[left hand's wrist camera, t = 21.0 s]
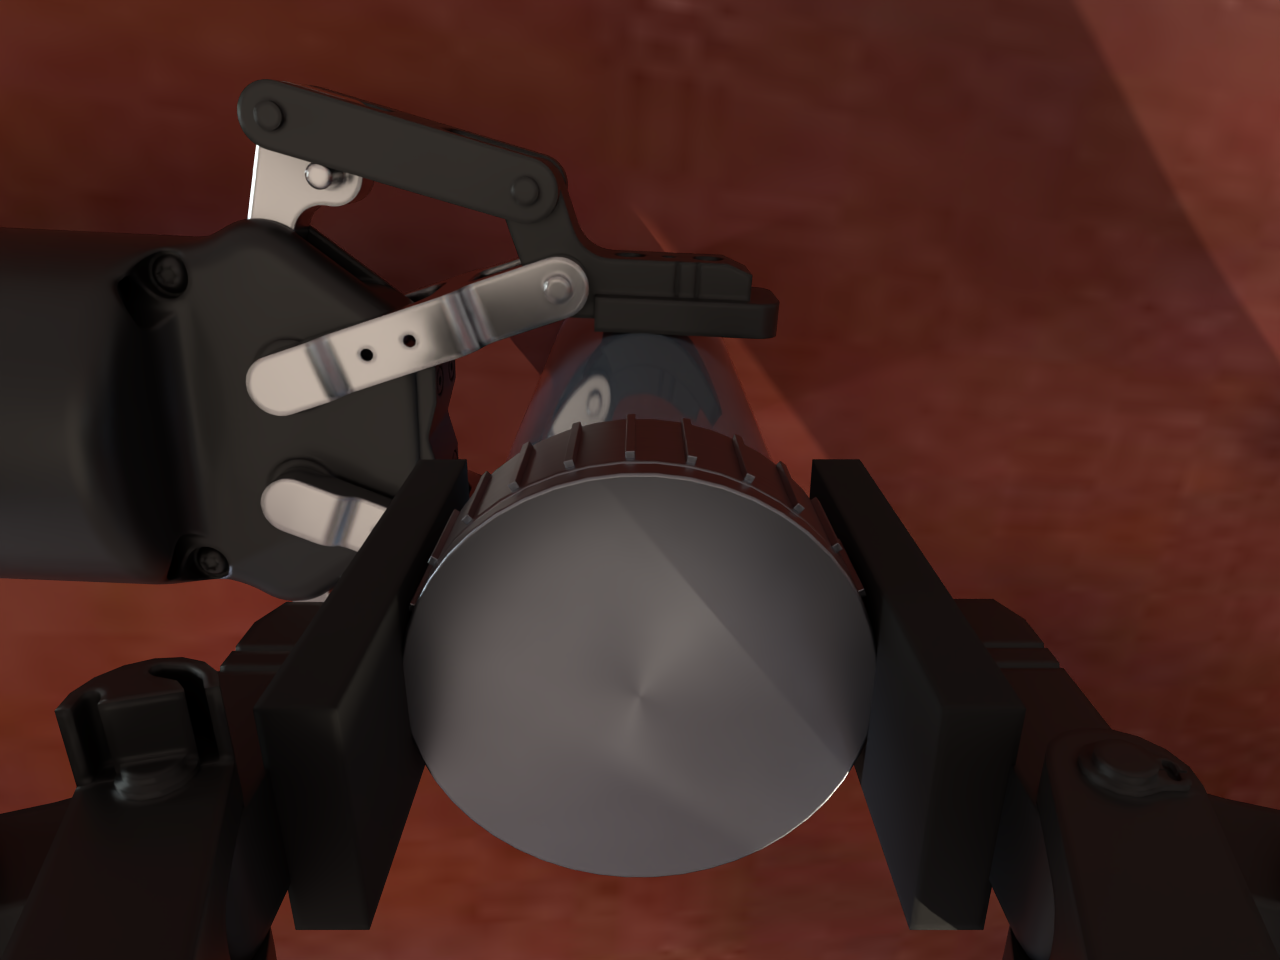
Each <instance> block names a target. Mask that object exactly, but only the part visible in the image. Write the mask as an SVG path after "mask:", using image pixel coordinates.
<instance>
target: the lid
mask: <svg viewBox="0 0 1280 960" xmlns="http://www.w3.org/2000/svg"><path fill="white" fill-rule="evenodd" d="M428 563H429V565H428V567H427V569H426V571H425V573H424V575H423V577H422V579H421V581H420V584H419V586H418V588H417V590H416V592H415V594H414V596H413V598H412V600H411V602H410V604H409V611H411V612H412V613H411V616H410V619H409V622H408V625H407V627H406V632H405V637H404V642H403V647H402V659H403V669H404V678H405V686H406V695H407V704H408V712H409V721H410V728H411V735H412V738H413V741H414V743H415V745H416V747H417V750H418V752H419V754H420V756H421V758H422V760H423V762H424V763H425V765H426V767H427V768H428V770H429V771H430V773H431V775H432V776H433V778H434V779H435V781H436V782H437V783H438V784H439V786H440V787H441V788H442V789H443V791H444V792H445V793H446V794H447V795H448V797H449V798H450V799H451V800H452V801H453V802H454V803H455V804H456V805H457V806H458V807H459V808H460V809H461V810H462V811H463V812H464V813H465V814H467V815H468V816H469V817H470V818H471V819H472V820H473V821H475V822H476V823H477V824H479V825H480V826H481V827H483V828H484V829H485V830H487V831H488V832H490V833H491V834H492V835H494V836H495V837H497V838H499V839H501V840H502V841H504V842H506V843H508V844H509V845H511V846H513V847H515V848H516V849H518V850H521V851H523V852H525V853H527V854H530V855H532V856H534V857H537V858H539V859H541V860H544V861H547V862H550V863H553V864H557V865H560V866H563V867H566V868H569V869H574V870H579V871H584V872H589V873H594V874H600V875H610V876H620V877H659V876H669V875H679V874H685V873H690V872H695V871H700V870H705V869H710V868H713V867H716V866H719V865H722V864H726V863H729V862H732V861H735V860H738V859H740V858H742V857H745V856H747V855H749V854H752V853H754V852H756V851H758V850H761V849H763V848H764V847H766V846H768V845H770V844H771V843H773V842H775V841H777V840H778V839H780V838H782V837H784V836H785V835H787V834H788V833H790V832H791V831H792V830H794V829H795V828H796V827H798V826H799V825H800V824H802V823H803V822H804V821H806V820H807V819H808V818H809V817H810V816H811V815H813V814H814V813H815V812H816V811H817V810H818V809H819V808H820V807H821V806H822V805H823V804H824V803H825V802H826V801H827V800H828V799H829V798H830V797H831V795H832V794H833V793H834V792H835V791H836V789H837V788H838V787H839V786H840V785H841V783H842V782H843V781H844V779H845V778H846V776H847V775H848V773H849V771H850V770H851V768H852V767H853V765H854V763H855V762H856V760H857V759H858V757H859V754H860V752H861V750H862V747H863V745H864V743H865V741H866V738H867V736H868V729H869V721H870V712H871V704H872V695H873V687H874V678H875V669H876V659H877V647H876V642H875V636H874V631H873V627H872V624H871V621H870V619H869V616H868V613H867V610H866V608H865V605H864V602H863V600H862V597H865V596H867V595H866V592H865V589H864V587H863V585H862V583H861V581H860V579H859V577H858V575H857V573H856V571H855V569H854V567H853V565H852V563H851V561H850V559H849V557H848V555H847V553H846V551H845V549H844V547H843V545H842V543H841V541H840V539H838V538H837V536H836V534H835V532H834V530H833V528H832V526H831V524H830V522H829V520H828V518H827V516H826V514H825V512H824V510H823V508H822V506H821V503H820V502H819V500H818V499H817V498H816V497H815V498H813V499H812V500H810V499H809V497H808V496H807V495H806V493H805V492H804V491H803V489H802V488H801V487H800V486H799V485H798V484H797V483H796V482H795V481H794V480H793V479H792V478H791V476H790V474H789V471H788V469H787V467H786V465H785V464H784V463H782V462H781V461H780V462H779V463H778V464H777V465H776V464H774V463H773V462H772V461H770V460H769V459H768V458H766V457H765V456H764V455H762V454H761V453H759V452H757V451H755V450H754V449H752V448H750V447H748V446H746V445H745V444H744V442H743V439H742V437H741V436H739V435H736V434H734V436H733V438H730V437H728V436H725V435H723V434H720V433H717V432H715V431H712V430H710V429H706V428H702V427H698V426H694V425H691V420H690V419H686V418H682V422H673V421H665V420H657V419H636V416H635V414H627V419H622V420H614V421H606V422H598V423H593V424H589V425H585V426H582V425H581V422H576V423H573V424H572V428H571V429H570V430H567V431H564V432H562V433H559V434H557V435H554V436H552V437H549V438H547V439H544V440H542V441H540V442H538V443H536V444H534V445H532V444H531V442H530V441H529V442H527V443H525V444H523V446H522V448H521V451H520V453H518V454H517V455H515V456H514V457H513V458H511V459H510V460H509V461H507V462H506V463H505V464H503V465H502V466H501V467H500V468H498V469H497V470H496V471H494V472H493V473H492V474H490V473H489V472H487V471H486V472H485V473H484V474H483V475H482V476H481V478H480V481H479V483H478V485H477V487H476V489H475V492H474V493H473V495H472V496H471V497H470V499H469V500H468V501H467V503H466V504H465V505H464V507H463V508H462V509H461V511H458V510H456V509H454V511H453V512H452V514H451V516H450V518H449V520H448V522H447V524H446V526H445V528H444V530H443V532H442V534H441V536H440V538H439V540H438V542H437V544H436V546H435V548H434V550H433V552H432V555H431V557H430V559H429V561H428Z"/></svg>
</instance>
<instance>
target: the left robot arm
mask: <svg viewBox="0 0 1280 960" xmlns="http://www.w3.org/2000/svg"><path fill="white" fill-rule="evenodd" d="M815 497H816V498H817V499H818V500H819V502H820V503H821V506H822V508H823V510H824V512H825V514H826V516H827V518H828V520H829V522H830V524H831V526H832V528H833V530H834V532H835V534H836V536H837V538H838V539H840V541H841V543H842V545H843V547H844V549H845V551H846V553H847V555H848V557H849V559H850V561H851V563H852V565H853V567H854V569H855V571H856V573H857V575H858V577H859V579H860V581H861V583H862V585H863V587H864V589H865V592H866V595H867V596H865V597H862V600H863V602H864V605H865V608H866V610H867V613H868V616H869V619H870V621H871V624H872V627H873V631H874V636H875V642H876V647H877V659H876V669H875V678H874V687H873V695H872V704H871V712H870V721H869V729H868V736H867V738H866V741H865V743H864V745H863V747H862V750H861V752H860V754H859V757H858V759H857V760H856V762H855V763H854V766H855V769H856V772H857V775H858V778H859V781H860V784H861V787H862V790H863V793H864V796H865V799H866V802H867V805H868V808H869V811H870V814H871V817H872V820H873V823H874V825H875V828H876V831H877V834H878V837H879V840H880V843H881V846H882V849H883V852H884V855H885V858H886V861H887V864H888V867H889V870H890V873H891V876H892V879H893V882H894V885H895V888H896V891H897V894H898V897H899V900H900V902H901V905H902V908H903V911H904V914H905V917H906V920H907V923H908V926H909V929H910V930H983V929H984V924H985V919H986V914H987V909H988V903H989V898H990V893H991V888H993V890H994V892H995V894H996V896H997V898H998V900H999V903H1000V905H1001V907H1002V909H1003V911H1004V913H1005V915H1006V918H1007V920H1008V922H1009V924H1010V926H1009V931H1008V936H1007V940H1006V945H1005V950H1004V955H1003V960H1280V810H1277V809H1272V808H1267V807H1262V806H1257V805H1253V804H1248V803H1243V802H1238V801H1234V800H1229V799H1225V798H1221V797H1217V796H1214V795H1210V794H1207V793H1206V791H1205V789H1204V786H1203V785H1202V783H1201V782H1200V781H1199V779H1198V778H1197V777H1196V775H1195V774H1194V773H1193V771H1192V770H1191V769H1190V767H1189V766H1187V765H1186V764H1185V763H1183V762H1182V761H1181V760H1179V759H1178V758H1177V757H1175V756H1174V755H1173V754H1171V753H1170V752H1169V751H1167V750H1166V749H1164V748H1162V747H1160V746H1157V745H1155V744H1153V743H1151V742H1149V741H1147V740H1145V739H1142V738H1140V737H1138V736H1134V735H1131V734H1127V733H1123V732H1119V731H1115V730H1112V729H1111V728H1110V727H1109V725H1108V724H1107V723H1106V722H1105V720H1104V719H1103V718H1102V717H1101V715H1100V714H1099V713H1098V712H1097V710H1096V709H1095V708H1094V706H1093V705H1092V704H1091V703H1090V701H1089V700H1088V699H1087V698H1086V696H1085V695H1084V694H1083V693H1082V691H1081V690H1080V689H1079V687H1078V686H1077V685H1076V684H1075V682H1074V681H1073V680H1072V679H1071V677H1070V676H1069V675H1068V674H1067V672H1066V671H1065V670H1064V668H1060V667H1059V662H1058V661H1057V660H1056V658H1055V657H1054V656H1053V654H1052V653H1051V652H1050V651H1049V649H1048V648H1044V643H1043V642H1042V641H1041V639H1040V638H1039V637H1038V635H1037V634H1036V633H1035V632H1034V630H1033V629H1032V628H1031V627H1030V625H1029V624H1028V623H1027V622H1026V620H1025V619H1023V618H1022V617H1020V616H1019V615H1017V614H1016V613H1014V612H1012V611H1011V610H1009V609H1008V608H1006V607H1005V606H1003V605H1001V604H1000V603H998V602H997V601H995V600H994V599H953V598H952V597H951V595H950V594H949V592H948V591H947V589H946V588H945V586H944V585H943V583H942V582H941V580H940V579H939V577H938V576H937V574H936V573H935V571H934V570H933V568H932V567H931V565H930V564H929V562H928V561H927V559H926V558H925V556H924V555H923V553H922V552H921V550H920V549H919V547H918V546H917V544H916V543H915V541H914V540H913V538H912V537H911V535H910V534H909V532H908V531H907V529H906V528H905V527H904V525H903V524H902V522H901V521H900V519H899V518H898V516H897V515H896V513H895V512H894V510H893V509H892V507H891V506H890V504H889V503H888V501H887V500H886V498H885V497H884V495H883V494H882V492H881V491H880V489H879V488H878V486H877V485H876V483H875V482H874V480H873V479H872V477H871V476H870V474H869V473H868V471H867V470H866V468H865V467H864V465H863V464H862V462H861V461H860V459H813V460H812V473H811V486H810V500H812V499H813V498H815ZM469 499H470V497H469V484H468V471H467V459H419V461H418V462H417V464H416V465H415V467H414V468H413V470H412V471H411V473H410V474H409V476H408V477H407V479H406V480H405V482H404V483H403V485H402V486H401V488H400V489H399V491H398V492H397V494H396V495H395V497H394V498H393V500H392V501H391V503H390V504H389V506H388V507H387V509H386V510H385V512H384V513H383V515H382V516H381V518H380V519H379V521H378V522H377V524H376V525H375V527H374V528H373V530H372V531H371V533H370V534H369V536H368V537H367V539H366V540H365V542H364V543H363V545H362V546H361V548H360V549H359V551H358V552H357V553H356V555H355V556H354V558H353V559H352V561H351V562H350V564H349V565H348V567H347V568H346V570H345V571H344V573H343V574H342V576H341V577H340V579H339V580H338V582H337V583H336V585H335V586H334V588H333V589H332V591H331V592H330V594H329V595H328V597H327V598H326V600H325V601H324V602H286V603H284V604H282V605H281V606H279V607H278V608H276V609H275V610H273V611H272V612H270V613H269V614H267V615H265V616H264V617H262V618H261V619H259V620H258V621H256V622H255V623H254V624H253V625H252V626H251V628H250V629H249V630H248V632H247V633H246V634H245V635H244V637H243V638H242V639H241V641H240V642H239V643H238V644H237V646H236V651H232V652H231V653H230V655H229V656H228V657H227V658H226V660H225V661H224V662H223V663H222V665H221V666H220V671H216V670H214V669H213V668H212V667H211V666H209V665H208V664H207V663H205V662H203V661H198V660H194V659H189V658H184V657H176V658H155V659H150V660H146V661H141V662H137V663H133V664H128V665H124V666H121V667H119V668H117V669H114V670H112V671H109V672H107V673H104V674H102V675H99V676H97V677H94V678H93V679H91V680H90V681H88V682H87V683H85V684H84V685H82V686H80V687H79V688H77V689H76V690H74V691H73V692H71V693H70V694H69V695H68V696H67V697H66V698H65V699H64V701H63V702H62V703H61V704H60V705H59V706H58V708H57V709H56V710H55V714H56V718H57V721H58V724H59V728H60V731H61V735H62V738H63V741H64V745H65V748H66V751H67V755H68V758H69V762H70V765H71V768H72V772H73V775H74V779H75V782H76V785H77V788H76V790H75V792H74V795H73V797H72V798H69V799H65V800H62V801H58V802H55V803H50V804H45V805H40V806H36V807H31V808H26V809H22V810H17V811H12V812H7V813H3V814H0V960H277V959H276V952H275V945H274V940H273V936H272V931H271V925H272V922H273V920H274V918H275V916H276V914H277V912H278V909H279V907H280V905H281V903H282V901H283V899H284V896H285V894H286V892H287V890H288V893H289V898H290V903H291V908H292V913H293V918H294V924H295V929H296V930H369V929H370V927H371V924H372V921H373V918H374V915H375V912H376V909H377V906H378V903H379V900H380V897H381V894H382V891H383V888H384V885H385V882H386V879H387V876H388V873H389V870H390V867H391V864H392V861H393V858H394V855H395V852H396V850H397V847H398V844H399V841H400V838H401V835H402V832H403V829H404V826H405V823H406V820H407V817H408V814H409V811H410V808H411V805H412V802H413V799H414V796H415V793H416V790H417V787H418V784H419V781H420V778H421V776H422V773H423V770H424V767H425V763H424V762H423V760H422V758H421V756H420V754H419V752H418V750H417V747H416V745H415V743H414V741H413V738H412V735H411V728H410V721H409V712H408V704H407V695H406V686H405V678H404V669H403V659H402V647H403V642H404V637H405V632H406V627H407V625H408V622H409V619H410V616H411V613H412V612H411V611H409V604H410V602H411V600H412V598H413V596H414V594H415V592H416V590H417V588H418V586H419V584H420V581H421V579H422V577H423V575H424V573H425V571H426V569H427V567H428V565H429V563H428V561H429V559H430V557H431V555H432V552H433V550H434V548H435V546H436V544H437V542H438V540H439V538H440V536H441V534H442V532H443V530H444V528H445V526H446V524H447V522H448V520H449V518H450V516H451V514H452V512H453V511H454V509H456V510H458V511H461V509H462V508H463V507H464V505H465V504H466V503H467V501H468V500H469Z"/></svg>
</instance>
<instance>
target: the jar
mask: <svg viewBox="0 0 1280 960" xmlns="http://www.w3.org/2000/svg"><path fill="white" fill-rule="evenodd" d="M627 414H635V416H636V419H657V420H665V421H673V422H682V418H686V419H690V420H691V425H694V426H698V427H702V428H706V429H710V430H712V431H715V432H717V433H720V434H723V435H725V436H728V437H730V438H733V436H734V434H736V435H739V436H741V437H742V439H743V442H744V444H745V445H746V446H748V447H750V448H752V449H754V450H755V451H757V452H759V453H761V454H762V455H764V456H765V457H766V458H768V459H769V460H770V461H772V458H771V456H770V453H769V451H768V448H767V446H766V443H765V441H764V438H763V436H762V434H761V431H760V429H759V426H758V424H757V421H756V419H755V416H754V414H753V411H752V409H751V406H750V404H749V402H748V399H747V397H746V394H745V392H744V389H743V387H742V384H741V382H740V379H739V377H738V374H737V372H736V370H735V367H734V365H733V362H732V360H731V357H730V355H729V352H728V350H727V347H726V345H725V342H724V340H723V337H705V336H683V335H660V334H649V333H615V332H594V319H592V318H570V317H569V318H566V319H565V320H564V321H563V323H562V325H561V327H560V329H559V332H558V334H557V337H556V339H555V342H554V344H553V347H552V349H551V352H550V354H549V357H548V359H547V361H546V364H545V366H544V369H543V371H542V374H541V376H540V379H539V381H538V384H537V386H536V389H535V391H534V394H533V396H532V398H531V401H530V403H529V406H528V408H527V411H526V413H525V416H524V418H523V421H522V423H521V426H520V428H519V431H518V433H517V435H516V438H515V440H514V443H513V445H512V448H511V450H510V453H509V455H508V458H507V460H506V462H507V461H509V460H510V459H511V458H513V457H514V456H515V455H517V454H518V453H520V451H521V448H522V446H523V444H525V443H527V442H529V441H530V442H531V444H532V445H534V444H536V443H538V442H540V441H542V440H544V439H547V438H549V437H552V436H554V435H557V434H559V433H562V432H564V431H567V430H570V429H571V428H572V424H573V423H576V422H581V425H582V426H585V425H589V424H593V423H598V422H606V421H614V420H622V419H627ZM772 462H773V461H772Z"/></svg>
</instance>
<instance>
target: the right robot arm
mask: <svg viewBox="0 0 1280 960" xmlns="http://www.w3.org/2000/svg"><path fill="white" fill-rule="evenodd" d="M237 115H238V120H239V123H240V126H241V128H242V129H243V131H244V133H245V134H246V136H247V137H248V138H249V139H250V140H251V141H252V142H253V143H255V144H256V152H255V160H254V169H253V178H252V186H251V195H250V204H249V212H248V219H244V220H240V221H237V222H234V223H232V224H230V225H228V226H226V227H225V228H223V229H221V230H220V231H218V232H216V233H214V234H212V235H210V236H200V237H194V236H172V235H151V234H129V233H108V232H86V231H65V230H43V229H21V228H0V578H11V579H38V580H62V581H87V582H112V583H136V584H174V583H183V582H191V581H199V580H209V579H231V580H235V581H239V582H242V583H245V584H248V585H251V586H253V587H256V588H258V589H260V590H262V591H264V592H266V593H267V594H269V595H271V596H274V597H277V598H279V599H284V600H289V601H293V602H324V601H325V600H326V598H327V597H328V595H329V594H330V592H331V591H332V589H333V588H334V586H335V585H336V583H337V582H338V580H339V579H340V577H341V576H342V574H343V573H344V571H345V570H346V568H347V567H348V565H349V564H350V562H351V561H352V559H353V558H354V556H355V555H356V553H357V552H358V551H359V549H360V548H361V546H362V545H363V543H364V542H365V540H366V539H367V537H368V536H369V534H370V533H371V531H372V530H373V528H374V527H375V525H376V524H377V522H378V521H379V519H380V518H381V516H382V515H383V513H384V512H385V510H386V509H387V507H388V506H389V504H390V503H391V501H392V500H393V498H394V497H395V495H396V494H397V492H398V491H399V489H400V488H401V486H402V485H403V483H404V482H405V480H406V479H407V477H408V476H409V474H410V473H411V471H412V470H413V468H414V467H415V465H416V464H417V462H418V461H419V459H458V443H457V439H456V436H455V433H454V430H453V427H452V423H451V420H450V417H449V414H448V406H449V402H450V398H451V394H452V390H453V386H454V382H455V359H457V358H460V357H462V356H465V355H468V354H470V353H472V352H475V351H477V350H479V349H481V348H482V347H484V346H486V345H488V344H490V343H493V342H495V341H498V340H501V339H504V338H508V337H511V336H514V335H517V334H520V333H523V332H526V331H529V330H532V329H535V328H538V327H541V326H544V325H547V324H551V323H554V322H557V321H560V320H563V319H566V318H569V317H570V318H592V319H594V332H615V333H649V334H660V335H683V336H705V337H728V338H751V339H766V338H772V337H775V336H776V329H777V320H778V310H779V300H778V299H777V298H776V297H775V296H774V294H773V293H772V292H771V291H770V290H767V289H764V288H758V287H751V285H752V274H751V273H750V272H749V271H748V269H747V268H746V267H745V266H744V265H742V264H740V263H738V262H736V261H734V260H732V259H730V258H727V257H725V256H723V255H713V254H691V253H669V252H647V251H625V250H609V249H605V248H601V247H599V246H597V245H595V244H594V243H592V242H591V241H590V240H589V239H588V238H587V237H586V236H585V235H584V233H583V232H582V230H581V228H580V226H579V223H578V221H577V218H576V215H575V211H574V208H573V205H572V202H571V199H570V196H569V193H568V190H567V189H568V181H567V176H566V173H565V171H564V169H563V167H562V166H561V165H560V163H559V162H558V161H556V160H555V159H554V158H552V157H550V156H548V155H545V154H541V153H538V152H535V151H531V150H528V149H525V148H521V147H518V146H515V145H511V144H508V143H505V142H501V141H498V140H495V139H491V138H488V137H485V136H481V135H478V134H475V133H471V132H468V131H465V130H461V129H458V128H455V127H451V126H448V125H445V124H441V123H438V122H435V121H431V120H428V119H425V118H421V117H418V116H415V115H411V114H408V113H405V112H401V111H398V110H395V109H391V108H388V107H385V106H381V105H378V104H375V103H371V102H368V101H365V100H361V99H358V98H355V97H352V96H348V95H345V94H342V93H338V92H335V91H332V90H328V89H325V88H322V87H317V86H311V85H304V84H299V83H292V82H285V81H276V80H269V79H263V80H257V81H255V82H252V83H251V84H249V85H248V86H247V87H246V88H245V89H244V90H243V91H242V93H241V95H240V97H239V100H238V105H237ZM374 181H376V182H380V183H383V184H387V185H390V186H394V187H397V188H400V189H404V190H407V191H411V192H414V193H418V194H421V195H424V196H428V197H431V198H435V199H438V200H442V201H445V202H448V203H452V204H455V205H459V206H462V207H466V208H469V209H472V210H476V211H479V212H483V213H486V214H490V215H493V216H497V217H500V218H503V219H506V222H507V225H508V228H509V231H510V234H511V236H512V239H513V242H514V245H515V248H516V250H517V253H518V256H519V257H517V258H514V259H511V260H508V261H505V262H502V263H499V264H496V265H493V266H490V267H486V268H480V269H476V270H473V271H470V272H467V273H464V274H461V275H458V276H455V277H452V278H449V279H446V280H443V281H440V282H437V283H434V284H431V285H428V286H425V287H422V288H419V289H416V290H413V291H410V292H407V293H404V294H402V293H401V292H400V291H398V290H397V289H396V288H394V287H393V286H392V285H390V284H389V283H388V282H386V281H385V280H383V279H382V278H381V277H379V276H378V275H377V274H375V273H374V272H373V271H371V270H370V269H369V268H367V267H366V266H365V265H363V264H362V263H361V262H359V261H358V260H357V259H355V258H354V257H353V256H351V255H350V254H348V253H347V252H346V251H344V250H343V249H342V248H340V247H339V246H338V245H336V244H335V243H334V242H332V241H331V240H330V239H328V238H327V237H326V236H324V235H323V234H322V233H320V232H319V231H318V230H316V229H315V228H313V227H312V226H311V225H310V221H311V218H312V216H313V214H314V213H315V211H316V210H317V209H318V208H319V207H321V206H322V205H327V206H341V205H345V204H350V203H354V202H357V201H360V200H362V199H363V198H365V197H366V196H367V195H368V194H369V193H370V191H371V189H372V187H373V185H374ZM467 471H468V484H469V497H471V496H472V495H473V493H474V492H475V489H476V487H477V485H478V483H479V481H480V478H481V476H482V475H480V474H477V473H474V472H472V471H469V470H467Z"/></svg>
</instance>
